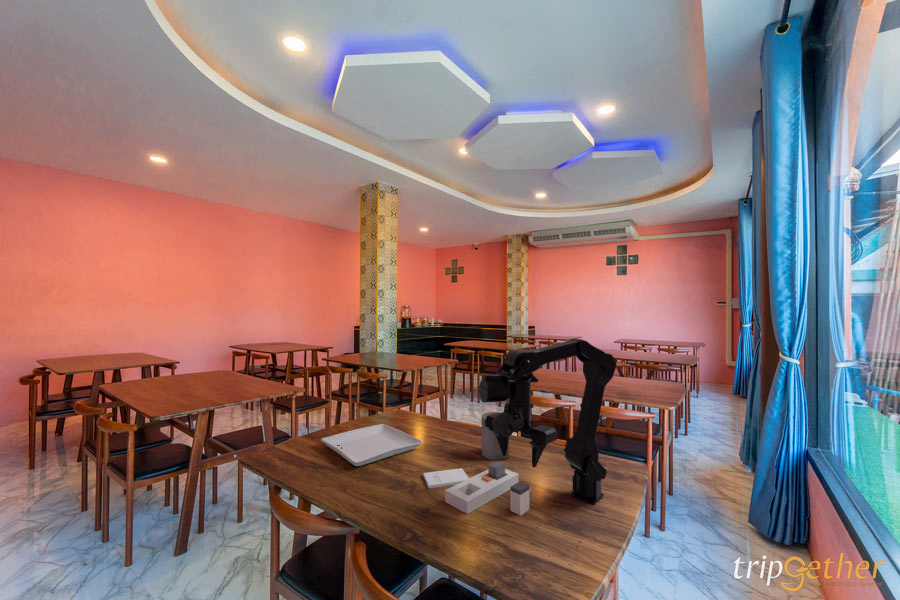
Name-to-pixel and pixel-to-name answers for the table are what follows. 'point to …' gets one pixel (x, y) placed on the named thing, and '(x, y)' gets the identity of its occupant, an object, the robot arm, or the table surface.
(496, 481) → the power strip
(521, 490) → the cream plug
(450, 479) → the external hard drive
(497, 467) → the charcoal plug
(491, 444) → the pillar candle
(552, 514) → the table surface
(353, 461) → the square plate
